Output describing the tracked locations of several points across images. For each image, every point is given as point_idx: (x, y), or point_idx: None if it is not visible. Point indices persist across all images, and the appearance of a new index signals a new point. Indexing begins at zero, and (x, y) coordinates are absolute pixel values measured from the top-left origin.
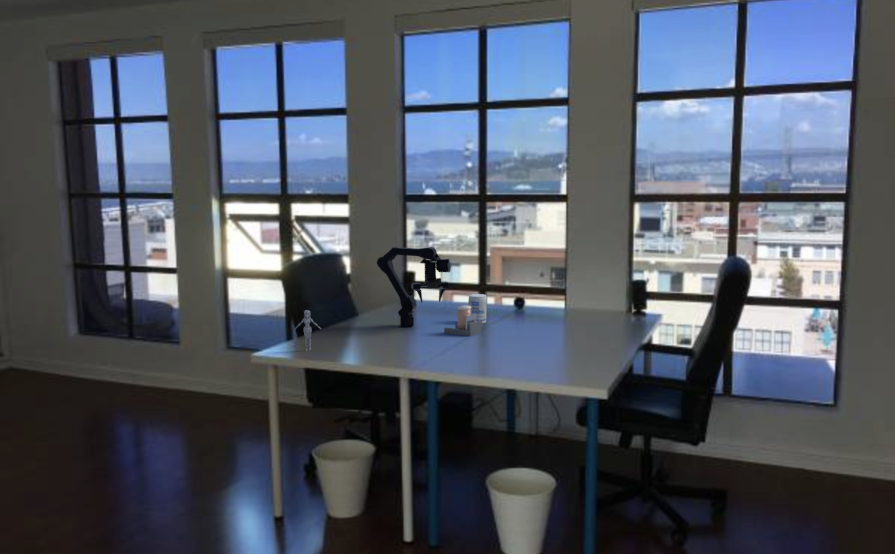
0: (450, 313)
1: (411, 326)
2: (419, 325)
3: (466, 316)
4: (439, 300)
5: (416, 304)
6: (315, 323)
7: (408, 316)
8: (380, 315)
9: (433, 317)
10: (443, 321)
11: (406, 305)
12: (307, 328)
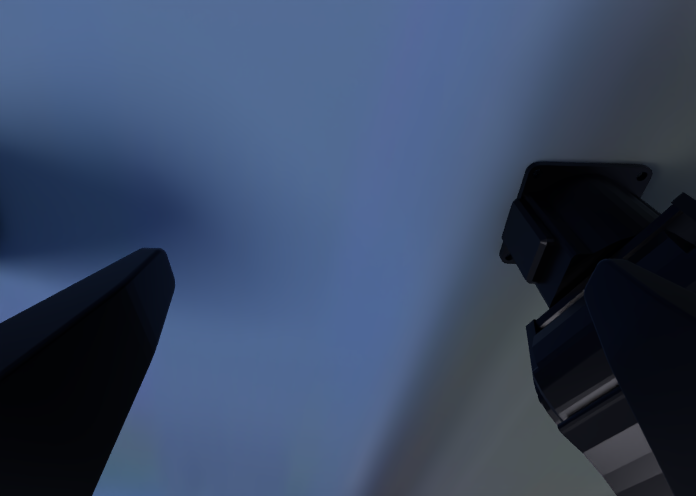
0: (179, 454)
1: (548, 163)
2: (444, 216)
3: None
4: (140, 263)
5: (543, 384)
6: None
7: (628, 226)
8: (544, 480)
9: (283, 405)
10: (224, 302)
11: None
12: None
